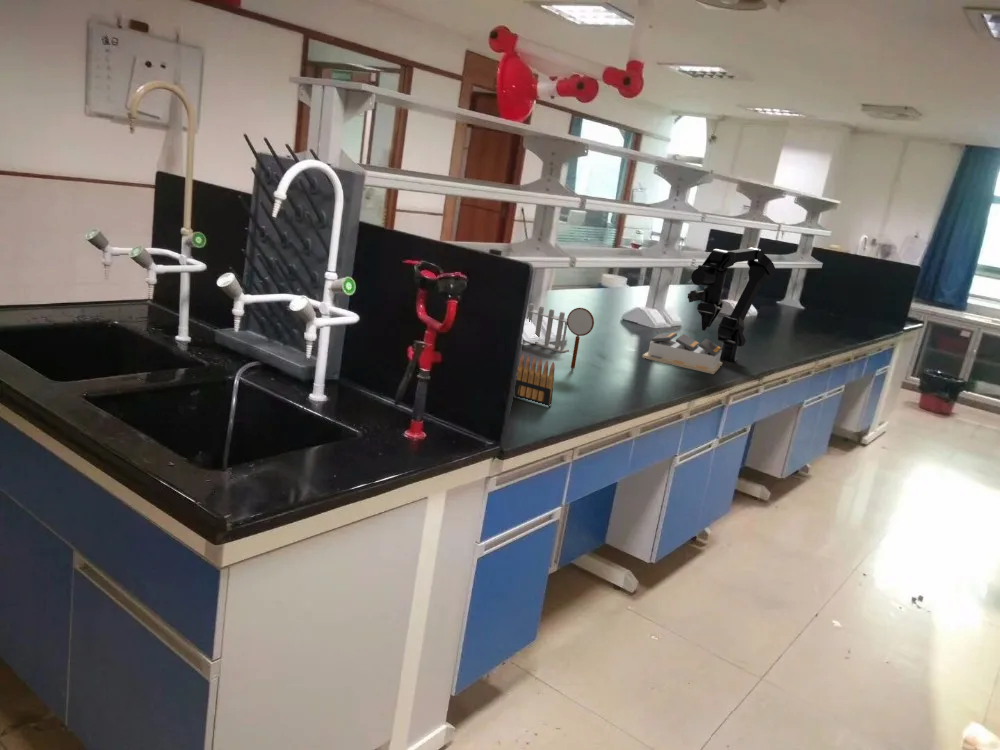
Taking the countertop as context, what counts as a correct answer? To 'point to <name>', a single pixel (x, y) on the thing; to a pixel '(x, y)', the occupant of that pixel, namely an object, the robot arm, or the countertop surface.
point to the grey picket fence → (549, 328)
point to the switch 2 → (710, 347)
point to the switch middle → (687, 342)
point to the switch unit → (683, 356)
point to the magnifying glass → (579, 327)
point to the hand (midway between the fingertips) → (705, 328)
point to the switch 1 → (664, 337)
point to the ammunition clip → (534, 381)
